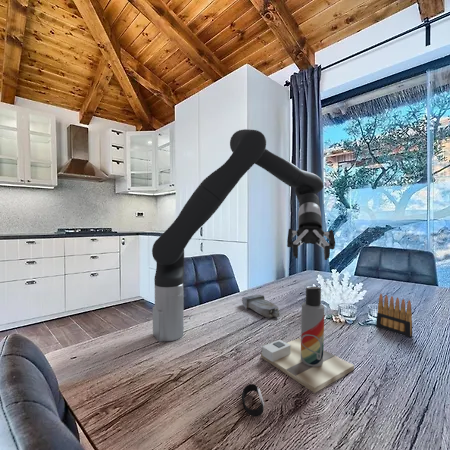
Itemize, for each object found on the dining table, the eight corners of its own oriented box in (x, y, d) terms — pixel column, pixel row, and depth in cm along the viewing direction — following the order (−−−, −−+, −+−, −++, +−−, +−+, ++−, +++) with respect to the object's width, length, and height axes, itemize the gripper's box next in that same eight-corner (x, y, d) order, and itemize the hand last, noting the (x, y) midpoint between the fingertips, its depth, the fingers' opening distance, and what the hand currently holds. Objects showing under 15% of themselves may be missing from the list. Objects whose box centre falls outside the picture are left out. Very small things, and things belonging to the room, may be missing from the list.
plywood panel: (314, 393, 61) (314, 387, 61) (260, 357, 75) (260, 352, 75) (354, 369, 70) (354, 364, 70) (299, 341, 84) (299, 337, 84)
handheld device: (268, 322, 100) (268, 310, 100) (239, 306, 117) (239, 295, 117) (288, 317, 105) (288, 305, 104) (256, 302, 122) (257, 292, 122)
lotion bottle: (312, 369, 67) (314, 291, 66) (296, 358, 72) (297, 285, 71) (327, 363, 70) (329, 288, 69) (311, 353, 75) (312, 282, 74)
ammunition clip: (412, 336, 89) (413, 300, 88) (410, 337, 87) (411, 301, 87) (378, 325, 97) (379, 292, 97) (375, 326, 96) (377, 293, 95)
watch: (268, 419, 53) (268, 401, 53) (244, 420, 53) (245, 402, 53) (259, 392, 61) (259, 377, 61) (239, 394, 61) (239, 378, 60)
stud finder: (272, 361, 71) (272, 351, 71) (262, 355, 74) (262, 345, 74) (290, 354, 75) (290, 344, 75) (279, 347, 78) (280, 338, 78)
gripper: (330, 226, 92) (334, 266, 82) (287, 225, 96) (286, 263, 85) (333, 211, 87) (338, 251, 76) (288, 210, 90) (286, 248, 80)
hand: (311, 257), depth 81 cm, fingers open, 8 cm apart
